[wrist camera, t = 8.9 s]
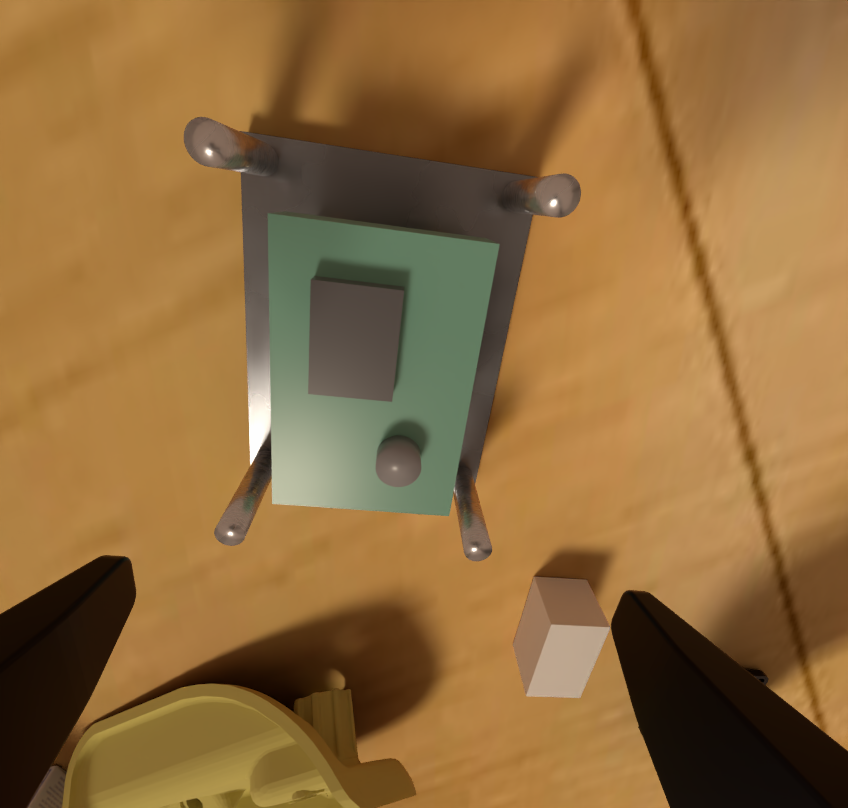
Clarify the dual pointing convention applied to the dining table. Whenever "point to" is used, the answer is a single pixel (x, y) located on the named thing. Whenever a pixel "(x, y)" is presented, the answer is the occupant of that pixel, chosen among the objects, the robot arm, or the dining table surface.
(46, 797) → the medicine box
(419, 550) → the dining table surface
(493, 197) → the chassis
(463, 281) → the board
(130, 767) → the plastic component
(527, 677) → the white rectangular block
